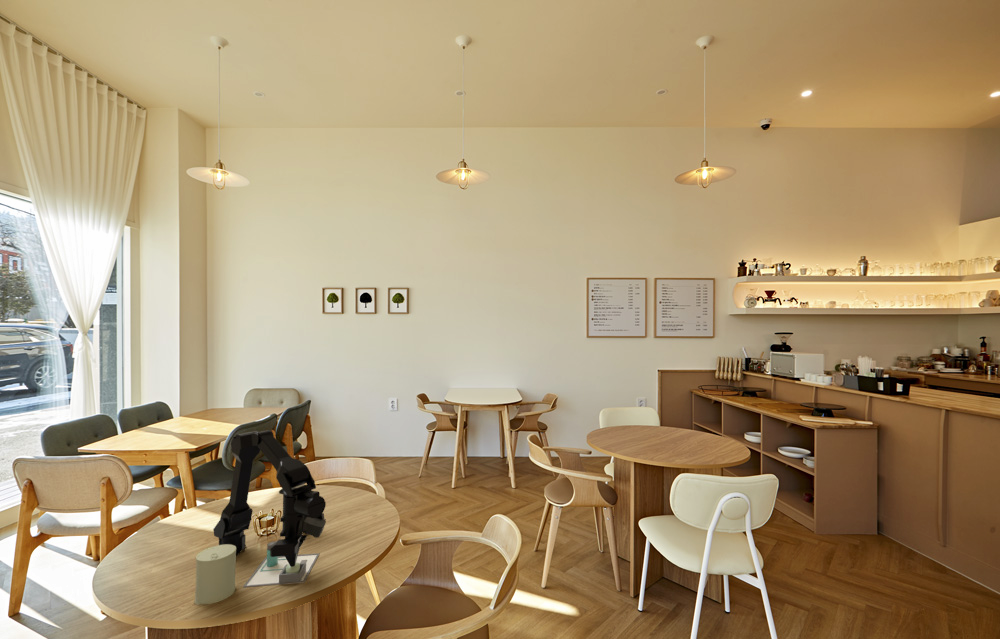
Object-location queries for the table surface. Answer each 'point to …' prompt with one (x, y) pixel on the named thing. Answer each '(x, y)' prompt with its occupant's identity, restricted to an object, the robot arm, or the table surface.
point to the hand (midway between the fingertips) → (292, 565)
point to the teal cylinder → (270, 560)
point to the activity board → (282, 572)
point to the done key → (293, 568)
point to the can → (215, 574)
